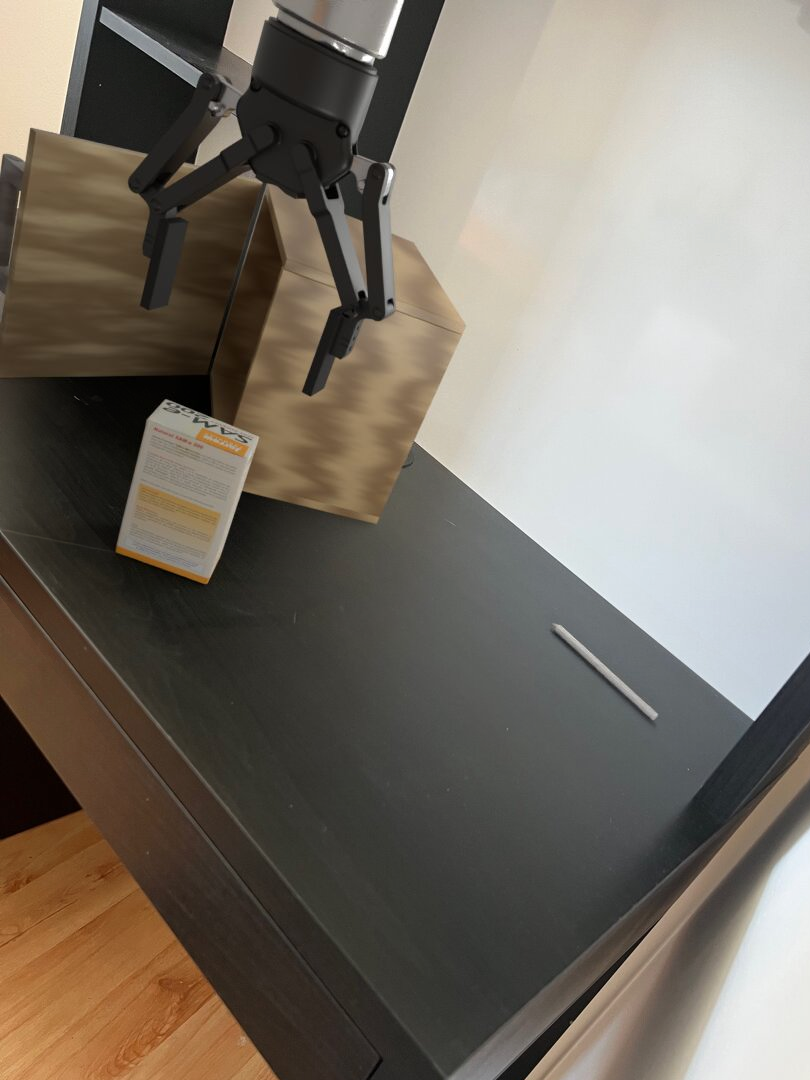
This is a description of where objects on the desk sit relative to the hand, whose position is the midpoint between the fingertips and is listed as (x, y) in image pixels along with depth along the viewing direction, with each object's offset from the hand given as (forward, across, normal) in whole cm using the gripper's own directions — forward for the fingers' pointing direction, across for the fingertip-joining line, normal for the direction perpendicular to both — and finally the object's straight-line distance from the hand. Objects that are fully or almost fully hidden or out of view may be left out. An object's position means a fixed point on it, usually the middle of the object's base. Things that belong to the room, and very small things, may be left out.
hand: (233, 348), depth 64 cm
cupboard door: (+20, -26, +26) cm, 41 cm away
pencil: (+20, +41, +18) cm, 49 cm away
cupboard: (+20, -2, +30) cm, 36 cm away
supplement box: (+20, 0, 0) cm, 20 cm away
